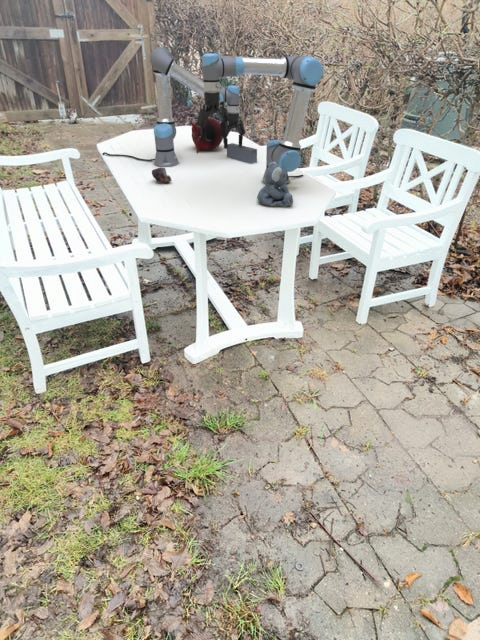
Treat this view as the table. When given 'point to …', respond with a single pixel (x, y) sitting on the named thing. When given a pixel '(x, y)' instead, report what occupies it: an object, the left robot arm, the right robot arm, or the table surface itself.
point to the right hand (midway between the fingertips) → (213, 139)
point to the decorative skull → (207, 135)
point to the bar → (242, 153)
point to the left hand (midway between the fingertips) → (233, 146)
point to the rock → (161, 175)
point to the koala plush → (275, 188)
